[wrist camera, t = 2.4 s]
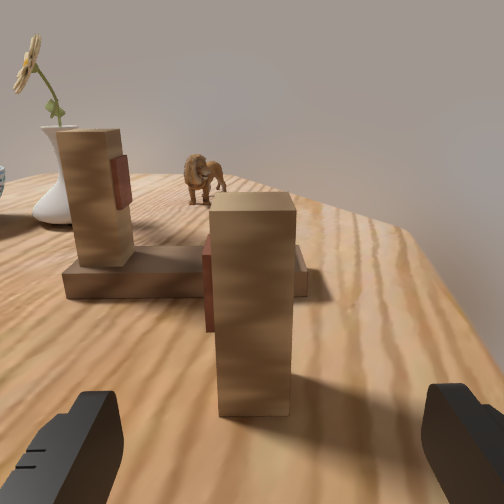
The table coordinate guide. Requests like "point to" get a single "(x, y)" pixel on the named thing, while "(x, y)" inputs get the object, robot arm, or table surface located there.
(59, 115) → the flower in vase
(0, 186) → the chinaware
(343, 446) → the table surface
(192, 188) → the lion figurine
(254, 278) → the tall wooden pillar
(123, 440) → the robot arm
